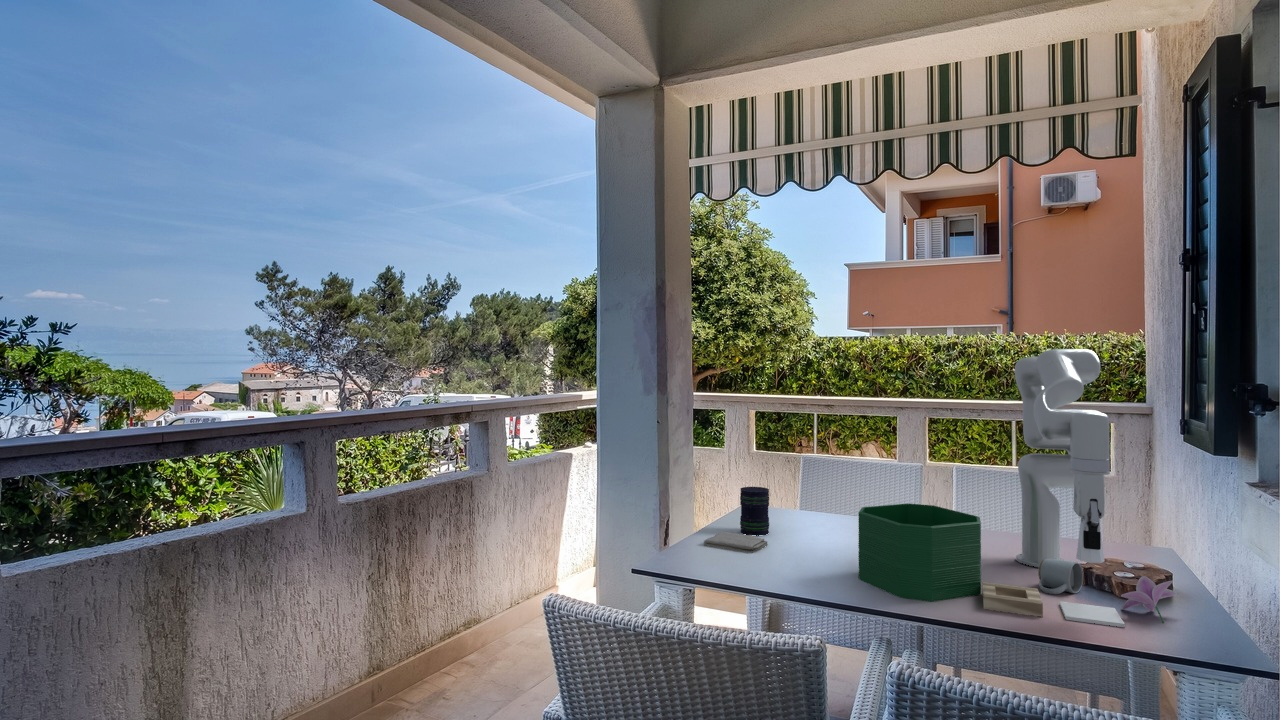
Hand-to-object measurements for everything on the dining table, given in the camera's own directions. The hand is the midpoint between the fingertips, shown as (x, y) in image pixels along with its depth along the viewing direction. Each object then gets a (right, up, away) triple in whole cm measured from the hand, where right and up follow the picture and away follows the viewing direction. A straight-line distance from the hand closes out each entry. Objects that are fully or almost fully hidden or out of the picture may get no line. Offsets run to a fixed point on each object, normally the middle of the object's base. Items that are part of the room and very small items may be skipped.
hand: (1090, 545), depth 158 cm
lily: (+13, -16, 0) cm, 21 cm away
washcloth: (-72, -17, +62) cm, 97 cm away
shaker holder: (-14, -16, +7) cm, 23 cm away
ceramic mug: (+4, -16, +18) cm, 25 cm away
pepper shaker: (0, -3, 0) cm, 3 cm away
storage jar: (-64, -17, +78) cm, 102 cm away
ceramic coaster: (0, -16, 0) cm, 16 cm away
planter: (-30, -16, +24) cm, 41 cm away
